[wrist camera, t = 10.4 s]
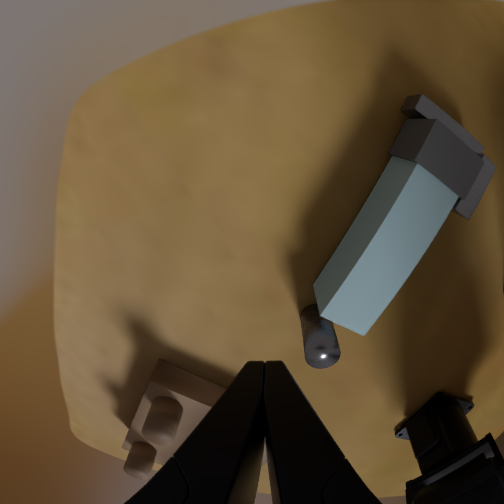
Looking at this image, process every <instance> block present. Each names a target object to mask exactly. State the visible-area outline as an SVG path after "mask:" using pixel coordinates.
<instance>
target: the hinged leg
mask: <svg viewBox="0 0 504 504" xmlns="http://www.w3.org/2000/svg"><path fill="white" fill-rule="evenodd" d="M388 153H389V154H390V155H392V157H391V159H390V161H389V163H388V164H387V166H386V168H385V170H384V171H383V173H382V175H381V177H380V178H379V180H378V182H377V183H376V185H375V187H374V188H373V190H372V192H371V194H370V195H369V197H368V199H367V200H366V202H365V204H364V205H363V207H362V209H361V210H360V212H359V214H358V215H357V217H356V218H355V220H354V222H353V223H352V225H351V227H350V228H349V230H348V231H347V233H346V235H345V236H344V238H343V239H342V241H341V242H340V244H339V246H338V247H337V249H336V250H335V252H334V253H333V255H332V257H331V258H330V260H329V261H328V263H327V264H326V266H325V267H324V269H323V270H322V272H321V273H320V275H319V276H318V278H317V279H316V281H315V282H314V284H313V288H314V292H315V296H316V301H317V305H318V309H319V314H320V316H322V317H324V318H326V319H328V320H330V321H332V322H334V323H337V324H339V325H341V326H343V327H345V328H347V329H350V330H352V331H354V332H356V333H358V334H361V335H363V336H364V335H365V334H366V333H367V332H368V330H369V329H370V328H371V326H372V325H373V324H374V323H375V321H376V320H377V319H378V318H379V316H380V315H381V314H382V312H383V311H384V310H385V308H386V307H387V306H388V304H389V303H390V302H391V300H392V299H393V298H394V296H395V295H396V294H397V292H398V291H399V289H400V288H401V287H402V285H403V284H404V282H405V281H406V280H407V278H408V277H409V275H410V274H411V272H412V271H413V269H414V268H415V267H416V265H417V264H418V262H419V261H420V259H421V258H422V256H423V255H424V253H425V251H426V250H427V248H428V247H429V245H430V244H431V242H432V241H433V239H434V237H435V236H436V234H437V233H438V231H439V229H440V228H441V226H442V224H443V223H444V221H445V219H446V218H447V216H448V214H449V213H450V211H451V209H452V208H453V206H454V204H455V202H456V201H457V199H458V198H460V199H462V200H465V198H466V197H467V195H468V193H469V191H470V189H471V187H472V186H473V184H474V182H475V180H476V178H477V176H478V174H479V172H480V170H481V168H482V166H483V164H484V161H483V160H482V159H481V158H480V157H479V156H478V155H477V154H476V153H475V152H474V151H473V150H472V149H471V148H470V147H469V146H468V145H467V144H465V143H464V142H463V141H462V140H461V139H460V138H459V137H458V136H457V135H455V134H454V133H453V132H452V131H451V130H450V129H448V128H447V127H446V126H445V125H444V124H443V123H441V122H440V121H439V120H438V119H407V120H406V121H405V123H404V125H403V127H402V129H401V131H400V133H399V134H398V136H397V138H396V140H395V142H394V144H393V145H392V147H391V149H390V151H389V152H388Z"/></svg>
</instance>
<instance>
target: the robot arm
mask: <svg viewBox="0 0 504 504" xmlns="http://www.w3.org/2000/svg"><path fill="white" fill-rule="evenodd" d="M473 407H474V404H473V402H471V401H468V400H465V399H462V398H459V397H456V396H453V395H450V394H447V393H444V392H438V393H437V394H435V395H434V396H433V397H432V398H431V399H430V400H429V401H428V402H427V403H426V404H425V405H424V406H423V407H422V408H421V409H420V410H419V411H418V412H417V413H416V414H415V415H414V416H413V417H412V418H410V419H409V420H408V421H407V422H406V423H405V424H404V425H403V426H402V427H400V428H399V429H398V430H397V431H396V432H395V436H396V438H401V439H406V440H410V443H411V446H412V449H413V452H414V455H415V458H416V459H417V461H418V465H419V468H420V471H421V474H422V475H421V476H419V477H417V478H415V479H413V480H409V481H407V482H406V490H405V491H406V502H407V504H504V459H503V457H502V455H501V453H500V451H499V449H498V447H497V445H496V443H495V441H494V439H493V437H492V435H491V433H488V434H487V435H485V437H484V438H483V439H481V440H480V441H478V439H477V437H476V435H475V433H474V431H473V429H472V427H471V425H470V423H469V421H468V419H467V417H466V414H467V413H468V412H469V411H470V410H471V409H472V408H473ZM265 444H266V455H267V463H268V471H269V479H270V487H271V495H272V502H273V504H382V503H381V502H380V501H379V500H378V499H377V497H376V496H375V495H374V494H373V493H372V492H371V491H370V490H369V488H368V487H367V486H366V485H365V483H364V482H363V481H362V479H361V478H360V477H359V475H358V474H357V473H356V471H355V470H354V468H353V467H352V465H351V464H350V463H349V461H348V460H347V459H345V456H344V454H343V453H342V451H341V450H340V448H339V447H338V445H337V444H336V442H335V441H334V439H333V438H332V436H331V435H330V433H329V432H328V430H327V429H326V427H325V426H324V424H323V423H322V421H321V420H320V418H319V417H318V415H317V413H316V412H315V410H314V409H313V407H312V406H311V404H310V403H309V401H308V400H307V398H306V397H305V395H304V394H303V392H302V390H301V389H300V387H299V386H298V384H297V383H296V381H295V380H294V378H293V376H292V375H291V373H290V372H289V370H288V369H287V367H286V366H285V364H284V363H283V361H266V362H265V363H264V361H248V362H247V363H246V364H245V365H244V366H243V368H242V369H241V370H240V372H239V373H238V374H237V376H236V377H235V378H234V380H233V381H232V382H231V383H230V385H229V386H228V387H227V389H226V390H225V391H224V392H223V394H222V395H221V396H220V398H219V399H218V400H217V401H216V403H215V404H214V405H213V406H212V408H211V409H210V410H209V411H208V413H207V414H206V415H205V416H204V418H203V419H202V420H201V421H200V423H199V424H198V425H197V426H196V427H195V429H194V430H193V431H192V432H191V434H190V435H189V436H188V437H187V438H186V440H185V441H184V442H183V443H182V444H181V446H180V447H179V448H178V449H177V450H176V451H175V453H174V454H173V457H170V458H169V459H168V461H167V462H166V463H165V464H164V465H163V466H162V468H161V469H160V470H159V471H158V472H157V473H156V474H155V475H154V476H153V477H152V478H151V479H150V480H149V481H148V483H147V484H146V485H144V486H143V488H141V489H140V490H139V491H138V492H137V493H136V494H134V495H133V496H132V497H131V498H130V499H129V500H128V501H126V502H125V503H124V504H254V502H255V497H256V492H257V487H258V481H259V476H260V470H261V464H262V459H263V453H264V446H265ZM493 455H495V456H494V457H493V458H492V457H491V456H493Z"/></svg>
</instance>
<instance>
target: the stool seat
mask: <svg viewBox="0 0 504 504" xmlns="http://www.w3.org/2000/svg"><path fill="white" fill-rule="evenodd" d="M226 389H227V388H225V387H223V386H220V385H218V384H215V383H213V382H210V381H208V380H206V379H203V378H201V377H199V376H196V375H194V374H192V373H189V372H187V371H185V370H183V369H180V368H178V367H176V366H174V365H172V364H169V363H167V362H165V361H163V360H161V359H159V361H158V363H157V366H156V368H155V370H154V372H153V375H152V377H151V379H150V382H149V384H148V386H147V388H146V391H145V393H144V395H143V398H142V400H141V402H140V405H139V407H138V409H137V412H136V414H135V417H134V419H133V421H132V424H131V426H130V428H129V431H128V433H127V436H126V438H125V441H124V443H123V445H122V448H123V449H126V450H128V451H130V452H129V454H128V457H127V460H126V462H125V465H124V467H123V469H124V471H125V472H126V473H127V474H129V475H130V476H133V477H135V478H138V479H143V480H144V479H145V480H146V479H149V476H150V473H151V470H152V467H153V464H154V462H156V463H159V464H161V465H164V464H165V463H166V462H167V461H168V459H169V458H170V457H173V454H174V453H175V451H176V450H177V449H178V448H179V447H180V446H181V444H182V443H183V442H184V441H185V440H186V438H187V437H188V436H189V435H190V434H191V432H192V431H193V430H194V429H195V427H196V426H197V425H198V424H199V423H200V421H201V420H202V419H203V418H204V416H205V415H206V414H207V413H208V411H209V410H210V409H211V408H212V406H213V405H214V404H215V403H216V401H217V400H218V399H219V398H220V396H221V395H222V394H223V392H224V391H225V390H226ZM266 462H267V455H266V444H265V446H264V453H263V459H262V464H261V466H262V465H264V464H265V463H266Z"/></svg>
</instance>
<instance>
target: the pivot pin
mask: <svg viewBox="0 0 504 504" xmlns="http://www.w3.org/2000/svg"><path fill="white" fill-rule="evenodd" d="M300 319H301V327H302V336H303V344H304V352H305V360H306V362H307V363H308V364H309V365H310V366H311V367H314V368H319V369H322V368H327V367H330V366H332V365H334V364H335V363H336V362H337V361H338V360H339V358H340V354H341V352H340V348H339V344H338V340H337V336H336V332H335V329H334V325H333V322H332V321H330V320H328V319H326V318H324V317H322V316H320V314H319V309H318V305H317V304H312V305H309V306H307V307H306V308H305V309H304V310H303V311H302V313H301V316H300Z"/></svg>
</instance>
